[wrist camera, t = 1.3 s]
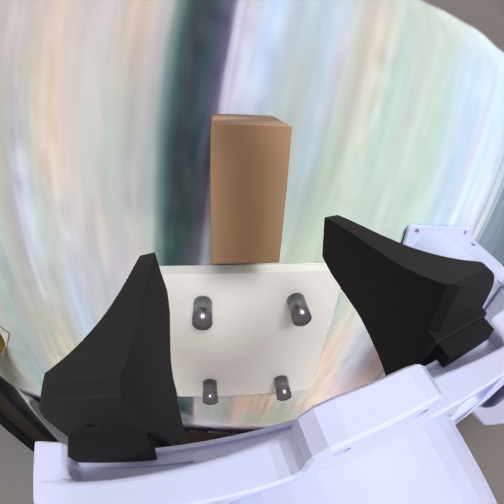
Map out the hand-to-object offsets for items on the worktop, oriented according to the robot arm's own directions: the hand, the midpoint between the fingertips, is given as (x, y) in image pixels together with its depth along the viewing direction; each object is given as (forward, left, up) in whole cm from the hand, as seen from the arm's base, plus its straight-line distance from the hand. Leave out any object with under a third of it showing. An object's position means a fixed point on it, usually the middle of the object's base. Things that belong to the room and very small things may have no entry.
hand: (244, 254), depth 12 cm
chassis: (-2, +16, -10) cm, 19 cm away
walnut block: (-1, -1, -11) cm, 10 cm away
